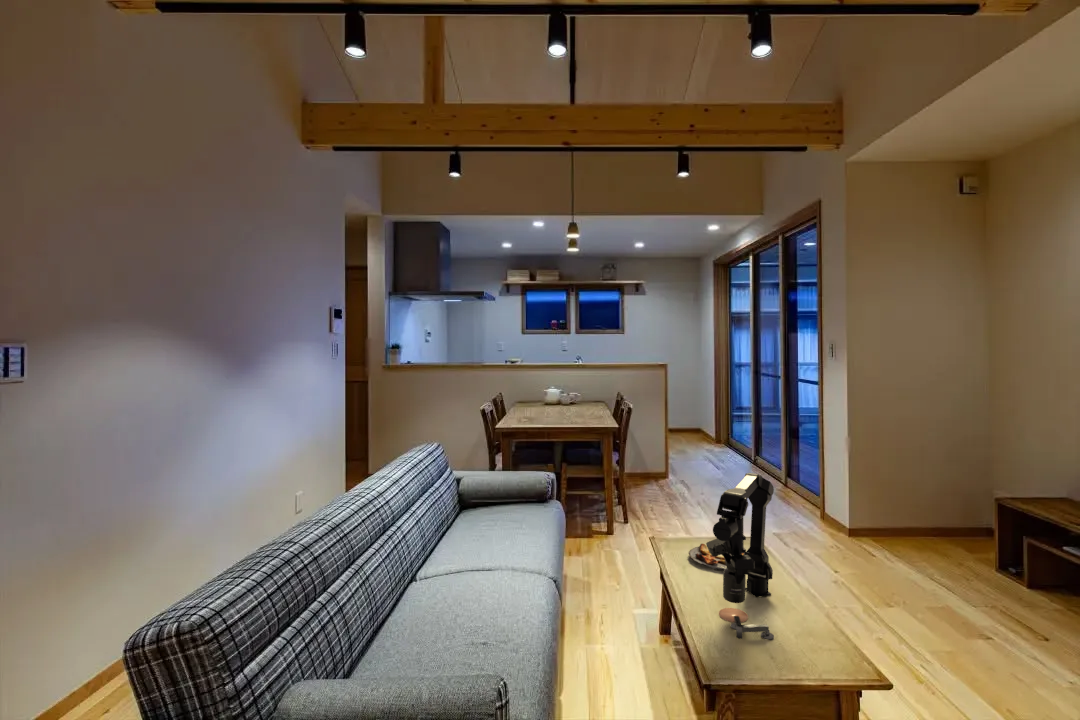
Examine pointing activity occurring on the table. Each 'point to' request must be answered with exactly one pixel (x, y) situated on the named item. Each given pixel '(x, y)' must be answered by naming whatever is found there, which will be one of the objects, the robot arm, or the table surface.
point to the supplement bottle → (733, 586)
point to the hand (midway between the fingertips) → (734, 579)
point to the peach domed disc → (733, 614)
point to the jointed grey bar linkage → (751, 629)
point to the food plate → (707, 557)
